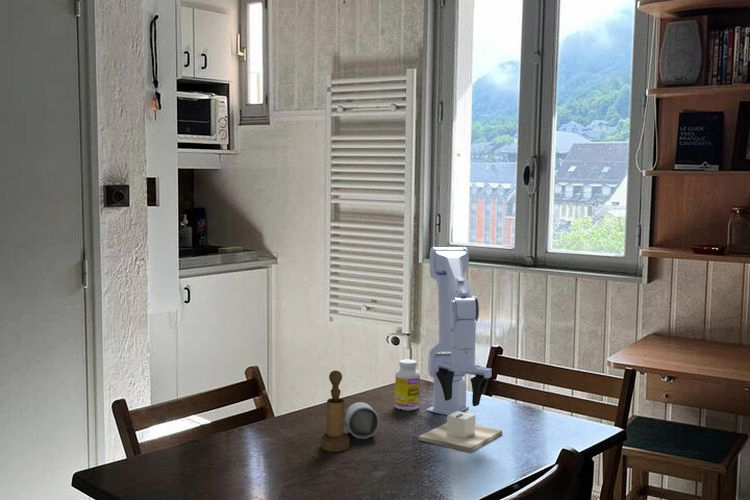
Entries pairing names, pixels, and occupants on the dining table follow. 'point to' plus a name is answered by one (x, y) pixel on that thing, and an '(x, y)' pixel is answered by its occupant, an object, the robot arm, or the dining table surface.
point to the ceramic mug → (361, 421)
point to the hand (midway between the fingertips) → (461, 402)
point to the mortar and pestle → (335, 419)
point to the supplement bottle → (407, 385)
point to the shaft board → (461, 438)
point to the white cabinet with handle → (461, 424)
